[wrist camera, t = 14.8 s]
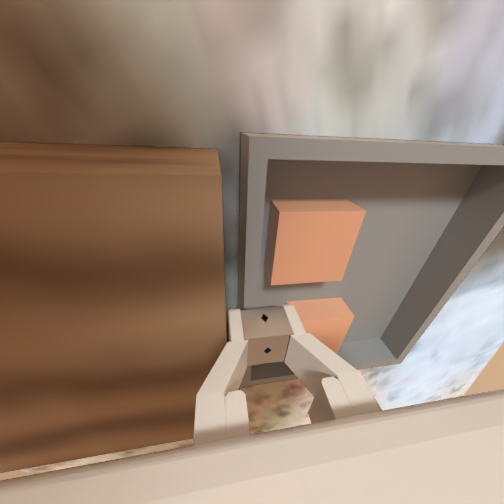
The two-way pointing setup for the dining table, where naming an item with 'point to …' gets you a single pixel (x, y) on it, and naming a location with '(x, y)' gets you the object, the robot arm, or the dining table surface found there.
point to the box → (373, 231)
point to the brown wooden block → (106, 296)
